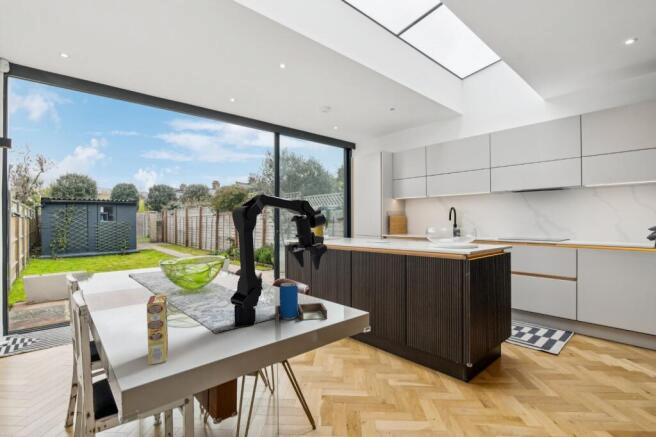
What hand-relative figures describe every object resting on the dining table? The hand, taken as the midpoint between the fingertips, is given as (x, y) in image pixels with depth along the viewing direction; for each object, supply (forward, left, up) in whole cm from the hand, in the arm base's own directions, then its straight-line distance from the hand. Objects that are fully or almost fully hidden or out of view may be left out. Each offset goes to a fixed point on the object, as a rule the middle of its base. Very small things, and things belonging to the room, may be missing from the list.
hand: (309, 268), depth 132 cm
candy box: (-46, -39, -15) cm, 62 cm away
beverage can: (-10, -14, -15) cm, 23 cm away
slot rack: (-5, -14, -15) cm, 21 cm away
